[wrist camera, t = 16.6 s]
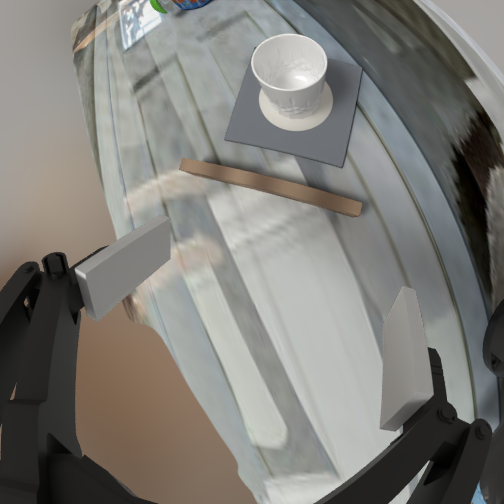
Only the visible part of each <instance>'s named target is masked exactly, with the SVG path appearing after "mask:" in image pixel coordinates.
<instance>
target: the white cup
mask: <svg viewBox="0 0 504 504" xmlns="http://www.w3.org/2000/svg"><path fill="white" fill-rule="evenodd" d="M251 66H252V70H253V73H254V74H255V76H256V78H257V80H258V82H259V84H260V86H261V88H262V90H263V92H264V93H265V95H266V97H267V99H268V100H269V102H270V103H271V105H272V107H273V108H274V109H275V110H276V111H277V113H278V114H279V115H281V116H284V117H286V118H288V119H303V118H306V117H308V116H311V115H312V114H313V113H314V112H315V111H316V110H317V109H318V107H319V104H320V99H321V96H322V93H323V89H324V83H325V76H326V70H327V57H326V54H325V52H324V50H323V49H322V47H321V46H320V45H319V44H318V43H317V42H315V41H314V40H312V39H310V38H308V37H305V36H302V35H298V34H281V35H276V36H273V37H271V38H269V39H267V40H265V41H264V42H262V43H261V44H260V45H259V46H258V47H257V48H256V50H255V51H254V53H253V56H252V60H251Z"/></svg>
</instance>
